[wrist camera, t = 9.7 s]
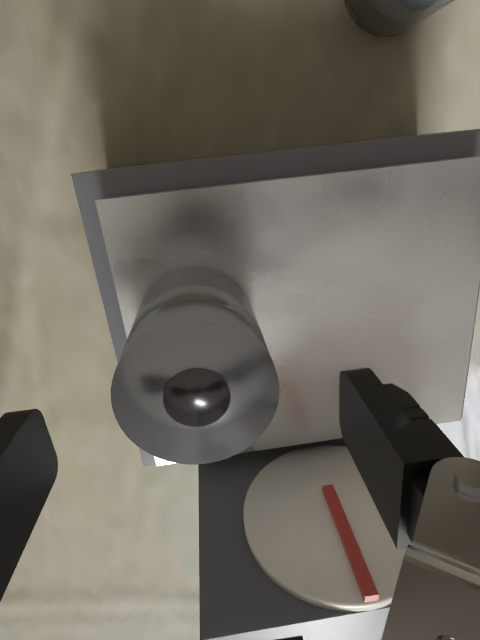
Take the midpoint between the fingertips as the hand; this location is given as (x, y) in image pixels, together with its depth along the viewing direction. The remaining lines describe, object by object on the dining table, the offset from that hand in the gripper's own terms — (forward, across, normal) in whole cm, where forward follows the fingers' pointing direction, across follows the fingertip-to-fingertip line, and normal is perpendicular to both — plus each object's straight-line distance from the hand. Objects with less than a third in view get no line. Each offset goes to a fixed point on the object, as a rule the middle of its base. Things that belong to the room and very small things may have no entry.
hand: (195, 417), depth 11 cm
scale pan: (+8, -5, +1) cm, 9 cm away
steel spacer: (+7, 0, 0) cm, 7 cm away
